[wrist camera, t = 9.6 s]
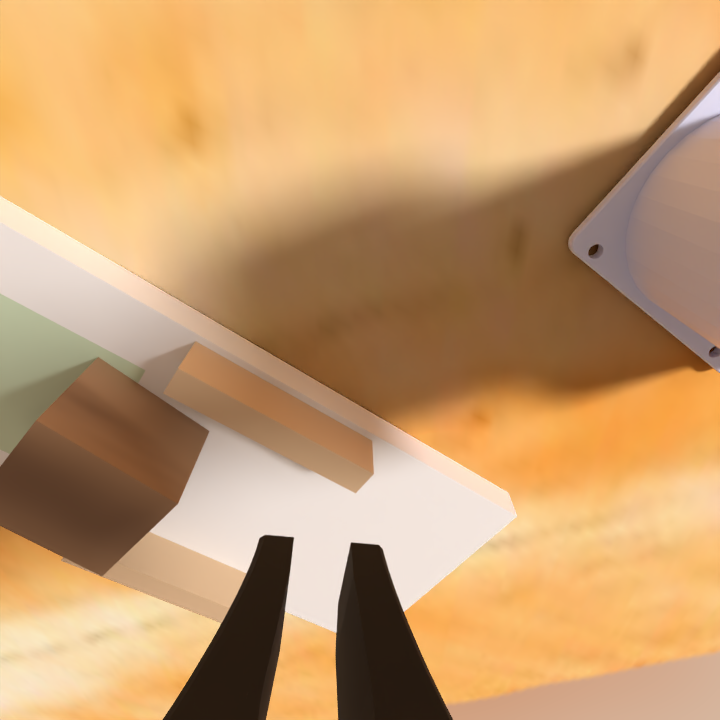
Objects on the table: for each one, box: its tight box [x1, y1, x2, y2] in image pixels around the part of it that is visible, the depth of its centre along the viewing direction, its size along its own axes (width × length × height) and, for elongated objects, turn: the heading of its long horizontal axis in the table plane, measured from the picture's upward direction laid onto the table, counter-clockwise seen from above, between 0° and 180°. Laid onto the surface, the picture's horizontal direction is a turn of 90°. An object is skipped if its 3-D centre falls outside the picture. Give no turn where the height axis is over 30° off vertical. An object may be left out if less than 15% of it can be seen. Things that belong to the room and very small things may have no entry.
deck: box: [0, 196, 517, 633], centre depth 20 cm, size 32×12×4 cm, turn 55°
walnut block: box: [0, 357, 209, 576], centre depth 18 cm, size 5×5×4 cm
